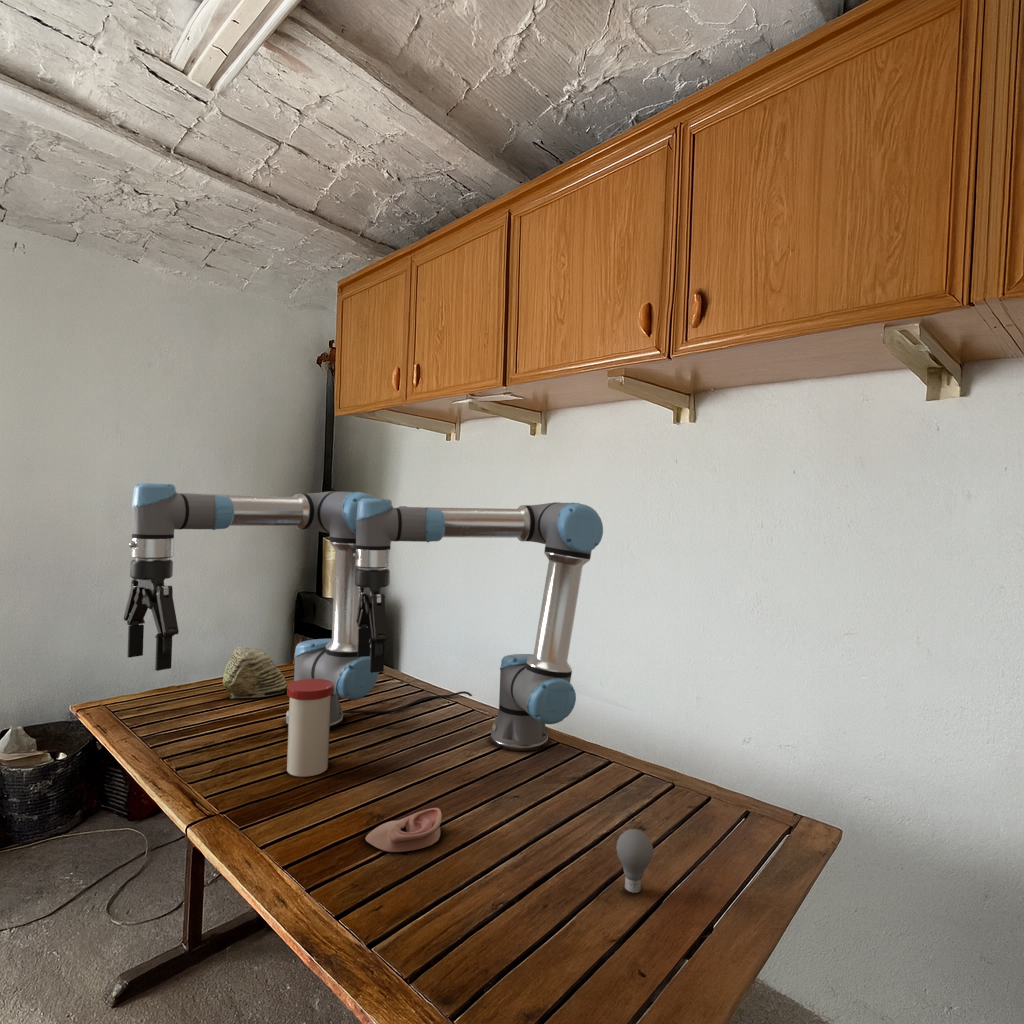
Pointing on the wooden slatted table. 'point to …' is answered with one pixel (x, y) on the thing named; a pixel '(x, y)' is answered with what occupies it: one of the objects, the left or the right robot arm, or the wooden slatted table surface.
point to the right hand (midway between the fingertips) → (369, 663)
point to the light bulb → (634, 857)
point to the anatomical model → (408, 832)
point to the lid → (310, 689)
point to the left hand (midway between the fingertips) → (148, 662)
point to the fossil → (252, 674)
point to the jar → (308, 736)
